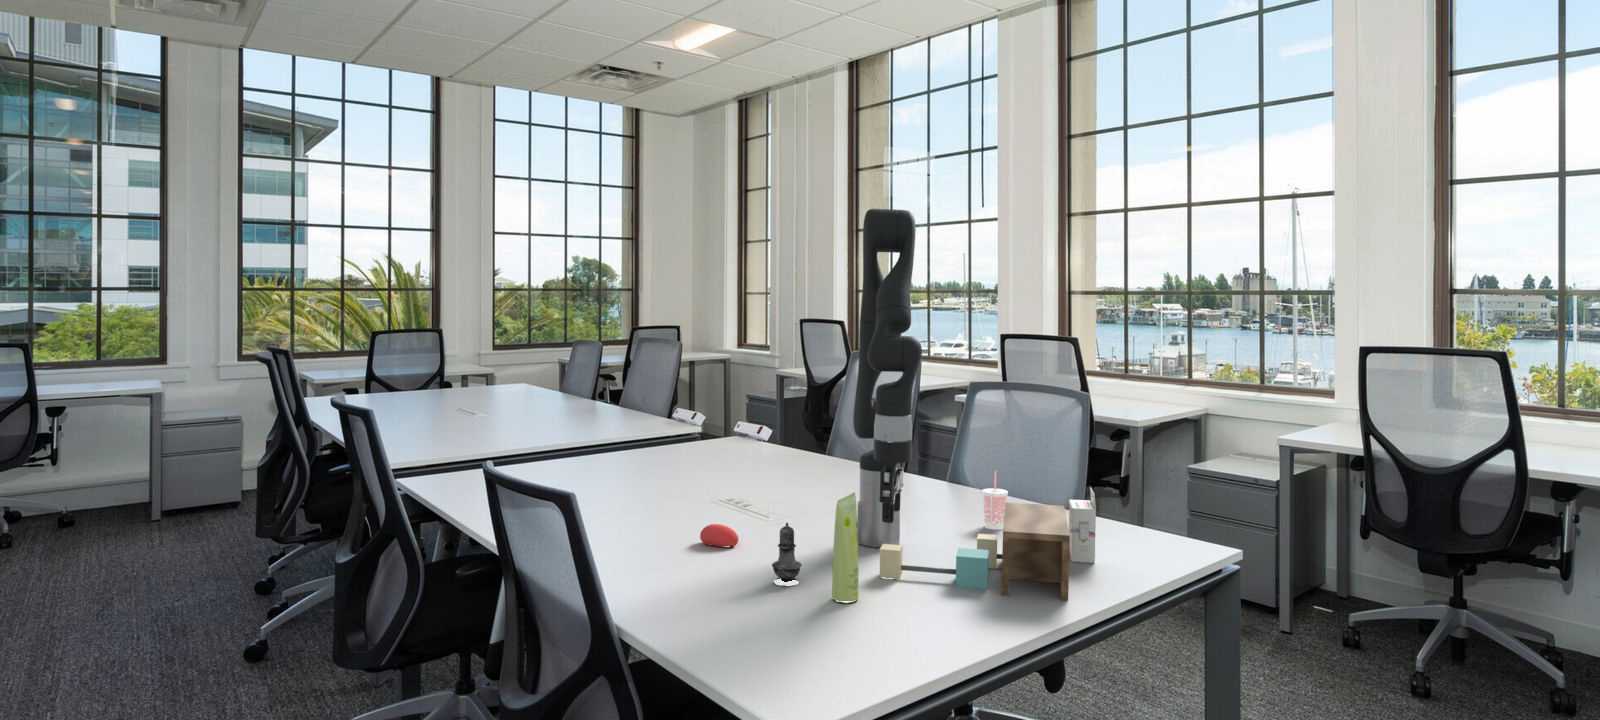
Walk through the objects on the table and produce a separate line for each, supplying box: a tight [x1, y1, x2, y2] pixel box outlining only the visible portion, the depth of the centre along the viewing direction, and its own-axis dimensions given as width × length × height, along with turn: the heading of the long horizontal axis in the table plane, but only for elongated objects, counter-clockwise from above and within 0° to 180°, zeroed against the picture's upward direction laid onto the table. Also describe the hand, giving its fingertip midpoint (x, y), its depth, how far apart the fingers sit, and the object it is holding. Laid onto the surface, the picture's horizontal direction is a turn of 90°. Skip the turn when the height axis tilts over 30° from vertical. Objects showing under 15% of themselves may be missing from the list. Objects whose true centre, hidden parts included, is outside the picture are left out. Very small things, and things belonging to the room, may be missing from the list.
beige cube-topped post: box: [976, 533, 1002, 569], centre depth 183 cm, size 15×6×6 cm, turn 76°
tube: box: [831, 491, 860, 601], centre depth 162 cm, size 6×5×20 cm
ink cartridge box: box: [1068, 487, 1097, 564], centre depth 190 cm, size 9×5×15 cm, turn 168°
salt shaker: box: [771, 522, 803, 582], centre depth 172 cm, size 6×6×12 cm
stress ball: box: [699, 523, 740, 547], centre depth 198 cm, size 5×9×6 cm, turn 52°
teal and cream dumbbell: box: [879, 544, 990, 590], centre depth 174 cm, size 21×6×6 cm, turn 76°
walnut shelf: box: [1001, 501, 1070, 601], centre depth 175 cm, size 12×24×12 cm, turn 166°
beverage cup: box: [981, 470, 1009, 530], centre depth 215 cm, size 6×6×14 cm
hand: (891, 516), depth 176 cm, fingers open, 8 cm apart
